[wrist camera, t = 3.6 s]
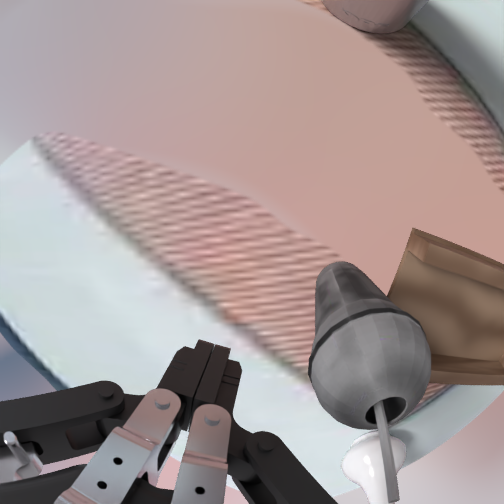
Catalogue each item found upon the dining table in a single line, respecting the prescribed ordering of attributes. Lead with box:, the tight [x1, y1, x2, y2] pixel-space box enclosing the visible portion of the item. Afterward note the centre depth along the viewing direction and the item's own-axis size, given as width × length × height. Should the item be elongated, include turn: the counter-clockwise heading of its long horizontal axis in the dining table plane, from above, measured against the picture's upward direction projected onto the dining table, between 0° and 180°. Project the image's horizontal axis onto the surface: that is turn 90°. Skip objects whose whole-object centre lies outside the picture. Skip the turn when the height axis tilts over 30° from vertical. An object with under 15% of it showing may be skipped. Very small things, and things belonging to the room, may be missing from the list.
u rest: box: [387, 228, 504, 385], centre depth 23 cm, size 14×24×4 cm, turn 77°
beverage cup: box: [308, 262, 431, 503], centre depth 16 cm, size 7×7×20 cm
